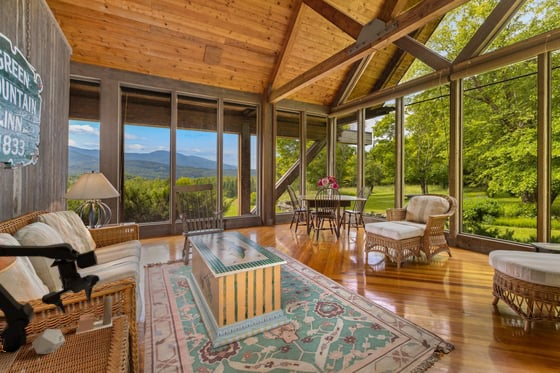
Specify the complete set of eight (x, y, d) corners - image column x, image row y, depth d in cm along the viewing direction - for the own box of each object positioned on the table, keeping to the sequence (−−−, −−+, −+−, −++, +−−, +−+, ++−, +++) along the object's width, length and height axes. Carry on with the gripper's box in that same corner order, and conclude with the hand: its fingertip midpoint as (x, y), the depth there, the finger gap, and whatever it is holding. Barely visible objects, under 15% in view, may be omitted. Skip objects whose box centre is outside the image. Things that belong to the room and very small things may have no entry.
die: (35, 365, 89) (58, 339, 92) (19, 349, 90) (43, 324, 93) (54, 358, 97) (75, 334, 100) (39, 343, 98) (61, 320, 101)
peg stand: (75, 336, 105) (77, 306, 105) (76, 328, 110) (78, 299, 110) (112, 327, 112) (113, 299, 112) (111, 320, 118) (113, 293, 118)
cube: (78, 332, 106) (79, 320, 106) (79, 326, 110) (80, 315, 110) (93, 329, 109) (93, 317, 109) (93, 323, 113) (94, 312, 113)
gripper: (50, 286, 93) (60, 324, 95) (102, 264, 110) (110, 296, 111) (36, 283, 98) (46, 319, 100) (88, 262, 114) (96, 293, 116)
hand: (77, 306), depth 107 cm, fingers open, 9 cm apart
